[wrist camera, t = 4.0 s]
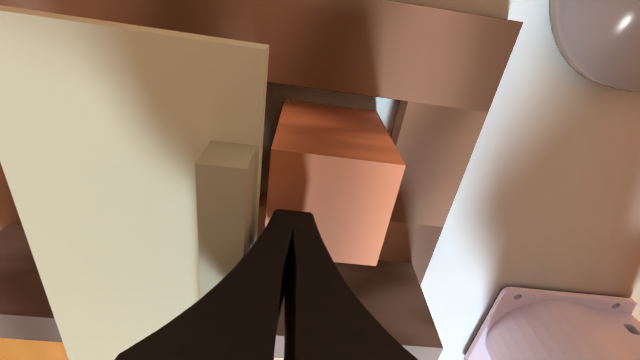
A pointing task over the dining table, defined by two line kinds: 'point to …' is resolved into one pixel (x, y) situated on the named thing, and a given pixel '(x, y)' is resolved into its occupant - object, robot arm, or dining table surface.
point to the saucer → (600, 39)
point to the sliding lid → (129, 167)
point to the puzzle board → (336, 75)
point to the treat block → (336, 176)
